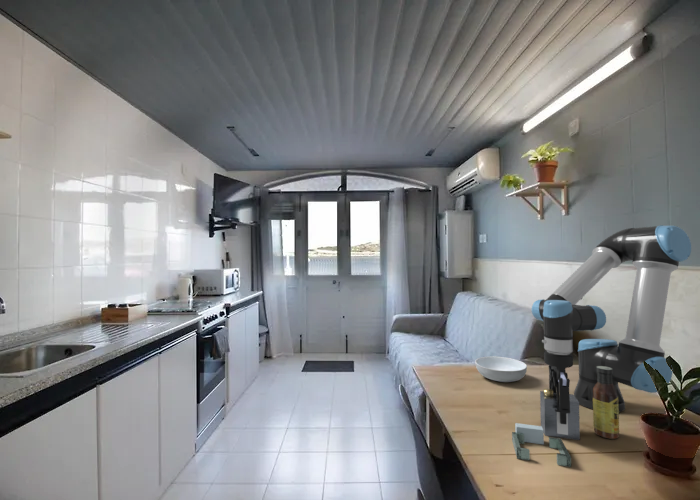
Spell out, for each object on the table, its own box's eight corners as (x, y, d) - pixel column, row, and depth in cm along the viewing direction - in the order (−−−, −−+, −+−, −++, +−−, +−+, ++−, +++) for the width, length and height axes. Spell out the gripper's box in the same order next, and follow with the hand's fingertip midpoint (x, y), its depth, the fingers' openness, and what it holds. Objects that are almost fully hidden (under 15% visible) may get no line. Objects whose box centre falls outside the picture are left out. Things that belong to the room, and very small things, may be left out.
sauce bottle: (620, 442, 100) (619, 372, 100) (594, 436, 103) (592, 369, 104) (617, 432, 106) (616, 366, 106) (592, 427, 109) (591, 363, 109)
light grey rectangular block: (541, 440, 101) (541, 426, 102) (543, 444, 99) (543, 430, 99) (515, 436, 104) (515, 423, 104) (516, 440, 101) (516, 426, 101)
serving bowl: (471, 370, 165) (470, 355, 165) (517, 371, 162) (517, 357, 162) (481, 386, 144) (481, 369, 144) (535, 388, 141) (534, 371, 141)
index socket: (561, 447, 98) (560, 438, 98) (571, 467, 88) (571, 457, 89) (512, 440, 101) (512, 431, 101) (517, 458, 92) (517, 449, 92)
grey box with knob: (573, 430, 107) (572, 389, 107) (579, 440, 101) (579, 396, 102) (540, 426, 110) (540, 386, 110) (545, 435, 104) (544, 393, 104)
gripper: (537, 343, 116) (538, 413, 116) (551, 359, 98) (553, 442, 98) (563, 344, 114) (564, 416, 114) (582, 361, 96) (584, 446, 95)
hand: (559, 428), depth 106 cm, fingers closed on grey box with knob, 6 cm apart
